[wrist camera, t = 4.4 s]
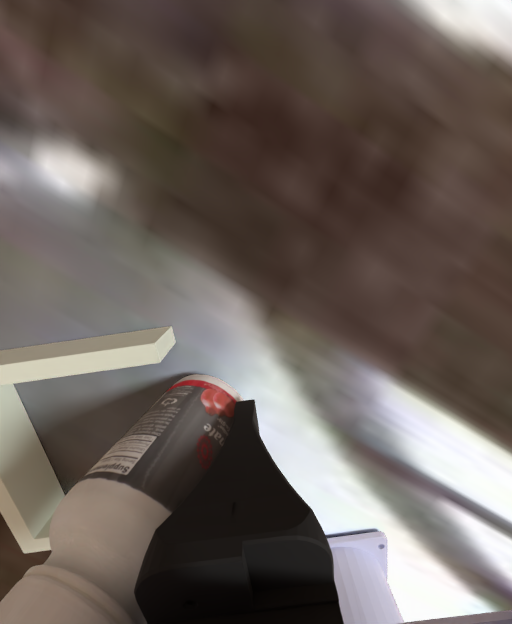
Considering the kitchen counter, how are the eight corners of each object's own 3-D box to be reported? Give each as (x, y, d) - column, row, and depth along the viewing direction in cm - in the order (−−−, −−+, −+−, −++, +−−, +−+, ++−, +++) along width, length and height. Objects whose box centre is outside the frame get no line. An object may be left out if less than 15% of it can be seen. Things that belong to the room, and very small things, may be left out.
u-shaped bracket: (211, 487, 17) (205, 528, 14) (56, 509, 17) (24, 553, 14) (171, 326, 13) (155, 343, 11) (-20, 353, 14) (-78, 376, 11)
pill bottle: (270, 433, 14) (178, 811, 5) (202, 454, 16) (43, 752, 7) (219, 356, 13) (-4, 632, 4) (154, 389, 15) (-96, 624, 6)
